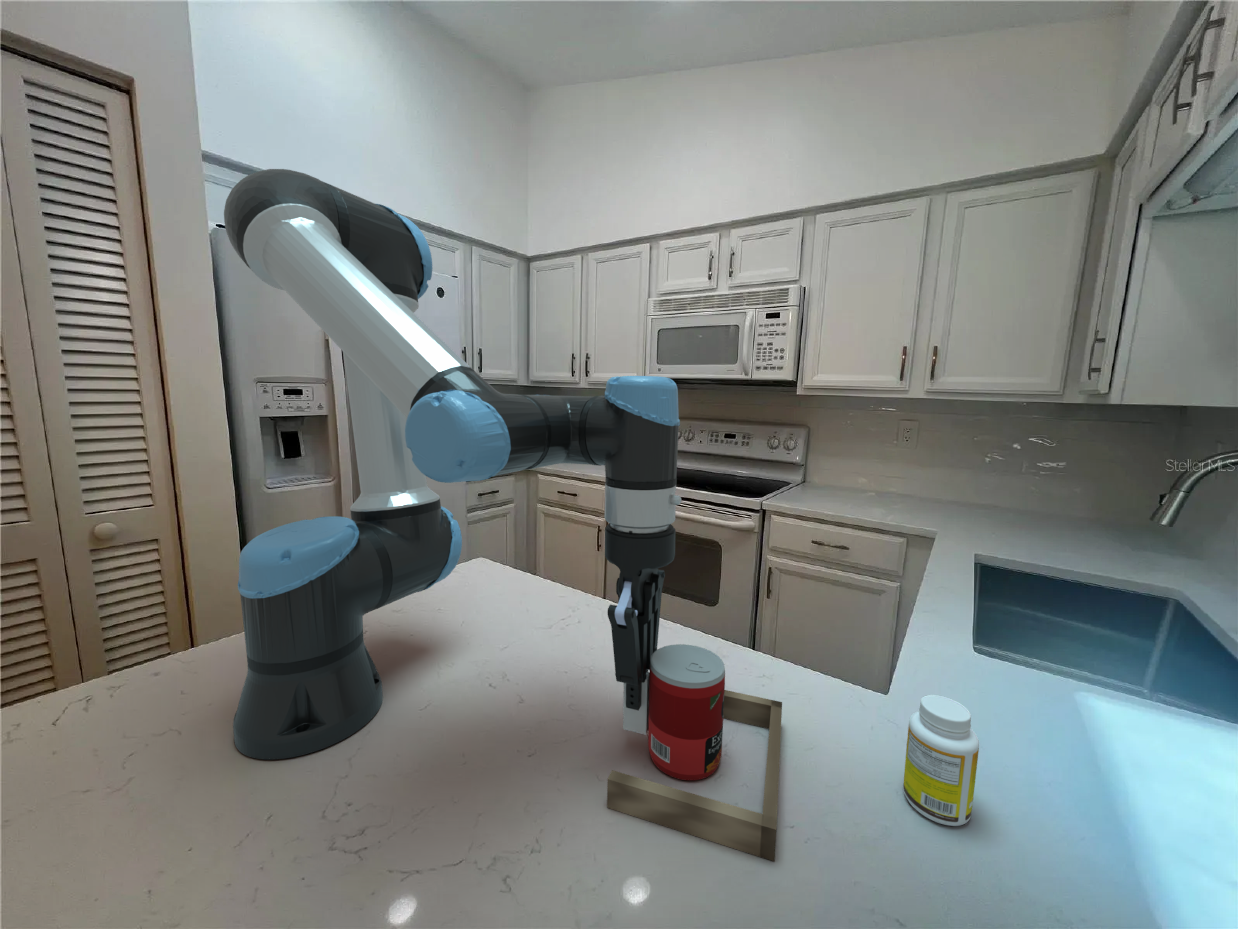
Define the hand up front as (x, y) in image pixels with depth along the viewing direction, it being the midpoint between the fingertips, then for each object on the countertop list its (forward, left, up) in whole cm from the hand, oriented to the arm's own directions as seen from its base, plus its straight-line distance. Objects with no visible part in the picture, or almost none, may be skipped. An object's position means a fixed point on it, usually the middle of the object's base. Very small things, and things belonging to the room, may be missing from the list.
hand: (636, 727), depth 54 cm
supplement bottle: (+30, +3, -2) cm, 30 cm away
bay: (+9, 0, -2) cm, 9 cm away
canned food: (+5, 0, -2) cm, 6 cm away
